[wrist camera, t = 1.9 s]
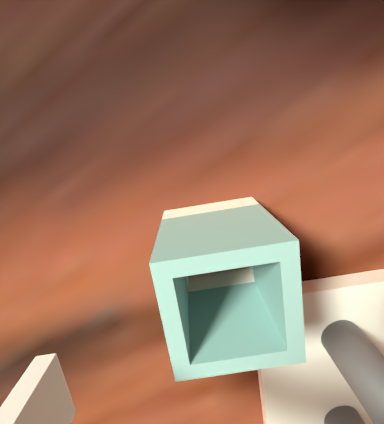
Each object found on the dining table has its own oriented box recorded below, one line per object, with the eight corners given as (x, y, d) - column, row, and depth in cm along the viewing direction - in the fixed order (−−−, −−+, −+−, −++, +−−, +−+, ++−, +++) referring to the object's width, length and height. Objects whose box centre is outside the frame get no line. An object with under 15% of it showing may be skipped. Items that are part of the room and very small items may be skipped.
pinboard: (247, 289, 20) (282, 374, 13) (409, 264, 20) (535, 336, 13) (266, 445, 25) (299, 573, 17) (400, 426, 24) (490, 548, 17)
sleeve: (164, 210, 19) (149, 263, 11) (251, 196, 18) (299, 240, 11) (179, 288, 20) (175, 381, 13) (260, 275, 20) (306, 362, 12)
